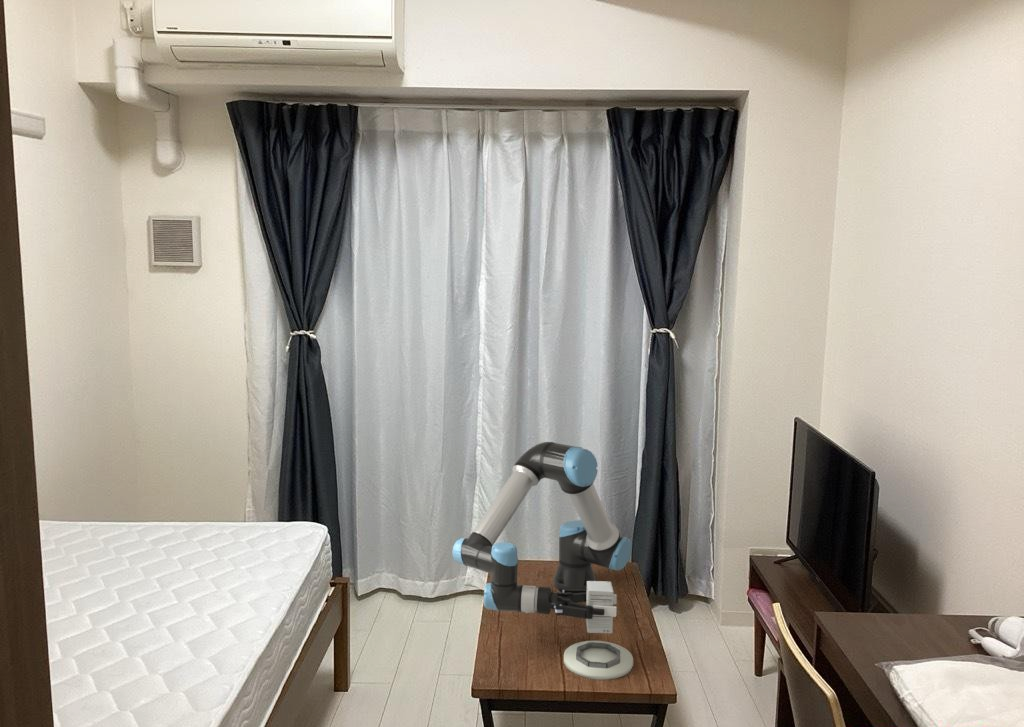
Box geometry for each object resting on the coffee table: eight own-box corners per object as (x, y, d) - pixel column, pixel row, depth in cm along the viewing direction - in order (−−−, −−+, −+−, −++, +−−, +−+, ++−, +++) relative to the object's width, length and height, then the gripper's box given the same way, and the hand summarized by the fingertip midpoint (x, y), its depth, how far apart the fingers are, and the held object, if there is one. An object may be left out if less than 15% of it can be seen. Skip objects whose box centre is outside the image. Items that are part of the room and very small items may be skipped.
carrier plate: (566, 642, 242) (566, 638, 242) (632, 648, 240) (632, 643, 239) (561, 676, 223) (561, 671, 222) (633, 682, 220) (633, 677, 220)
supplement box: (585, 621, 233) (586, 580, 232) (610, 622, 233) (611, 580, 232) (586, 633, 226) (587, 590, 225) (612, 633, 226) (614, 591, 224)
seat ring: (577, 645, 238) (577, 641, 238) (620, 648, 236) (620, 644, 236) (575, 666, 226) (575, 662, 225) (620, 669, 224) (620, 665, 224)
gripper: (540, 597, 242) (616, 602, 239) (533, 628, 222) (615, 634, 219) (541, 573, 241) (617, 578, 238) (533, 602, 221) (616, 608, 218)
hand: (616, 605), depth 228 cm, fingers closed on supplement box, 8 cm apart
